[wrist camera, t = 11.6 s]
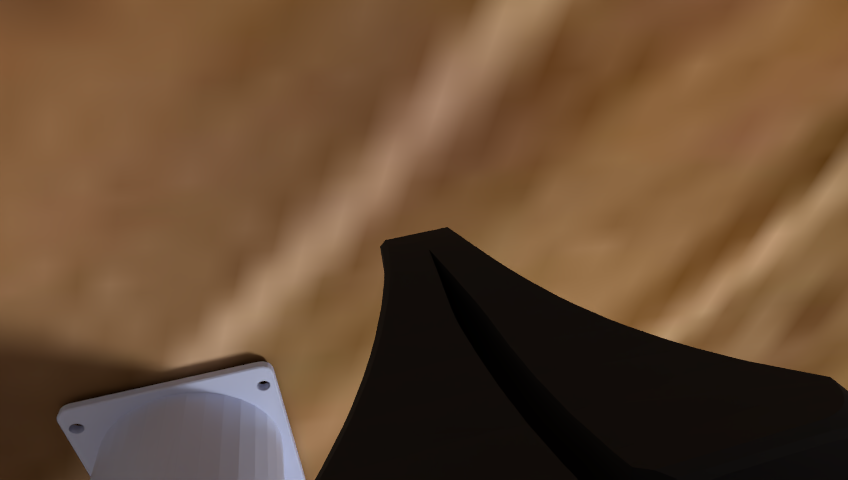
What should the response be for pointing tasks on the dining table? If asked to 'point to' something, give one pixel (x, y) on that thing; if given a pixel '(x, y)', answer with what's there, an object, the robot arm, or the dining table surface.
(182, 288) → the dining table surface
